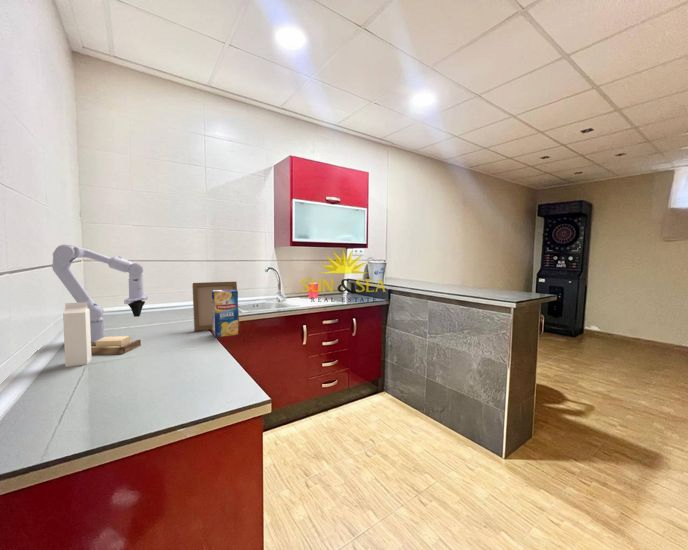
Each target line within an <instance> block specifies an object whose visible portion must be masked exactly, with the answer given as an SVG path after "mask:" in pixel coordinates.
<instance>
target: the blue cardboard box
mask: <svg viewBox="0 0 688 550" xmlns="http://www.w3.org/2000/svg"><path fill="white" fill-rule="evenodd" d="M238 312H239V291H238V289H237V290H215V291H212V329H211V330H212V333H211V334H212V335H213V337H214V338H221V337H222V338H223V337H231V336H237V335H239V326H238Z"/></svg>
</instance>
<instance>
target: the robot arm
mask: <svg viewBox="0 0 688 550" xmlns="http://www.w3.org/2000/svg"><path fill="white" fill-rule="evenodd" d="M77 258H78V259H79V258H81V259H82V258H88V259H90V260H94V261H97V262H102V263H103V264H107V265H108V267H109V268H110V269H113V270H116V271H119V272H122V273H128V298H126V299H124V301H123V302H124V304H125V305H128V307H129V309H130V310H131V312H132V315H133V317H134V318H135V317H136V318H138V317H140V316H141V314H142V311H143V307H144V305H145V304H146V300H148V297H149V296H148V295H144V278H143V272H144V268H143V265H141V264H140V263H137V262H135V263H134V261H133V260H131V261H130V260H127V259H125V258H123V257H122V256H120V255H119V256H117V255H116V256H111V257H109V255H108V256H107V255H105V254H101V253H99V252H96V251H93V250H91V249H88V248H85V247H80V246H75V245H72V244H61V245H58V246H57V247H56V248H55V249H54V251H53V252H52V267H51V268H53V269H52V271H53V272H54V273H55V275H56V276H57V277H58V279H59V280H60V281H61V283H62V284H63V286H64V287H65V288H66V290H67V291H68V292H69V294H70V295H71V296H72V298H73V299H74V301H75V303H83V302H87V307H88V308H89V310H90V333H91V343H95V342H96V341H97V340H100V339H101V338H104V337H105V318H103V317H102V315H103V314H104V308H103V307H102V306H101V305H98V304H97V303H96V301H95V300H93V299H92V298H91V296H90V295H89V293H88V292H87V291H86V289H85V288H84V287H83V285H82V284H81V283H80V281H79V280H78V278H77V277H76V275H75V274H74V272H73V271H72V270H71V268H70V267H71V265H72V263H73V261H74V260H75V259H77Z"/></svg>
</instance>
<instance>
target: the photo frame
mask: <svg viewBox="0 0 688 550" xmlns="http://www.w3.org/2000/svg"><path fill="white" fill-rule="evenodd" d="M215 290H237V291H238V283H237V281H214V282H193V283H192V303H193V304H192V309H193V329H194V330H193V331H194V332H195V331H206V330H207V331H208V330H212V291H215ZM238 327H240V315H239V311H238Z"/></svg>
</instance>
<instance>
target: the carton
mask: <svg viewBox="0 0 688 550" xmlns="http://www.w3.org/2000/svg"><path fill="white" fill-rule="evenodd" d="M129 343H131V335H111V336H110V335H109V336H104V338H101V339H100V340H97V341H96V346H120V347H122V346H124V345H126V344H129Z"/></svg>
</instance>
